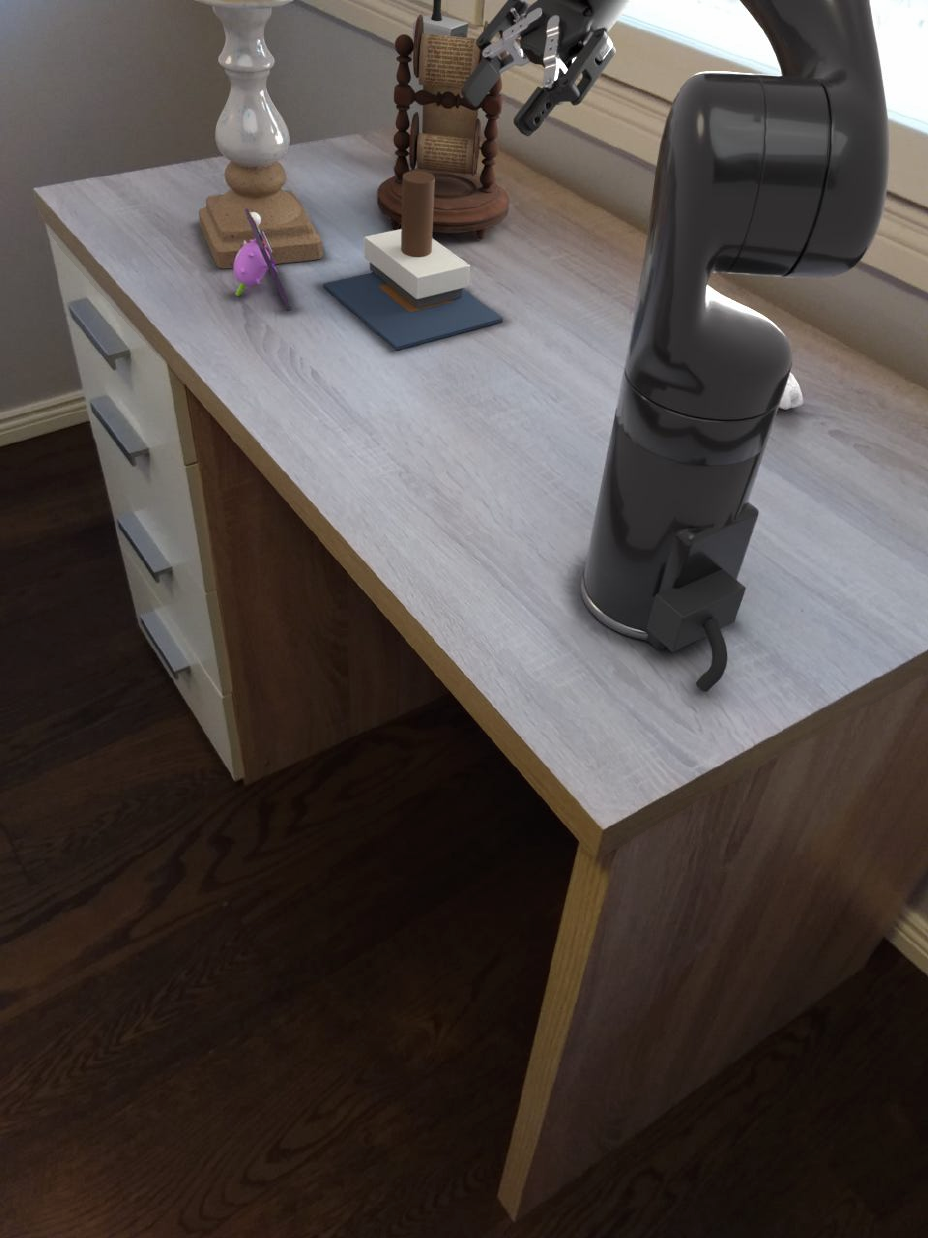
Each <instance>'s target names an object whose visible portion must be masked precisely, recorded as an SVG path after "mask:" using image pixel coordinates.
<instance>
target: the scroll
mask: <svg viewBox="0 0 928 1238" xmlns="http://www.w3.org/2000/svg"><path fill="white" fill-rule="evenodd" d="M423 17H424V16H423V14H419V15H418V16H417V18H416V19H417V21H416V26H415V34H414V43H413V40H412V37H411V36H410V35H409V34H406V33H403V34H400V35H398V36H397V37H396V39H395V41H394V49H395V52H396V53H397V54H398V56H397V57H396V58H395V59H396V61H397V62H399V64H398V67H397V71H396V75H395V77H396V81H397V84H396V85H395V86H394V89H393V102H394V104H395V109H397V110H398V112H397V115H396V119H395V127H396V129H397V131H396V132H395V133H394V135H393V138H392V139H393V145H394V147H395V148H396V150H395V151H394V155H395V156H397V158H396V161H395V163H394V166H393V172H394V175H393V176H390V177H388V178H387V179H385V180H384V181H382V182H381V183H380V184H379V186H378V187H377V191H376V206H377V208H378V209H379V211H380V212H381V214H383V215H384V216H385V217H387V218H388V219H389V222H390V227H391V229H392V231H394V230H399V227H400V226H401V225H402V187H403V175H404V174H405V173H407V172H410V171H423V172H428V173H430V174H432V175H433V176H434V177H435V187H434V210H433V232H434V233H447V234H449V233H450V234H451V233H453V234H455V233H469V232H475V235H476V239H478V240H480V241H482V240H483V239H484V238H485V235H486V231H487V229H489V228H491V227H494V226H496V225H498V224H499V223H502V221H504V220H505V219H506V217H507V216H508V215H509V210H510V196H509V194H508V193H507V191H506V190H505V189H504V188H503V187H502V186H500V185H499V184H497V183H496V174H495V171H494V167H493V166H495V165H496V164H497V161H496V160H495V158H496V157H497V156H498V155H499V151H500V148H499V144H498V143H497V141H496V139H497V138H498V137H499V129H498V123H497V120H499V119H500V115H502V111H503V100H504V99H503V96H502V95H501V94H500V93H501V91H502V89H503V82H502V81H503V80H502V76H501V75H502V74H498V75H499V76H500V77H499V79H498V80H497V81H496V83H495V84H494V85H493V87H492V88H491V90H490V91H489V92H488V94H487V95H486V96H485V98H484V99H483V100H482V102H481V103H480V104H479V105H478V106H477V107H474V106H472V105H470V104H469V103H468V102H467V100H466V99H465V98H464V97H463V95H462V93H461V91H462V88H463V86H464V84H465V82H466V81H467V79H468V78H469V76H470V75H471V74H472V72H473V71H474V70H475V68H476V67H477V66H478V64H479V63H480V62H481V60H482V57H483V55H482V53H481V51H480V49H479V48H478V46H477V45H476V40H477V39H478V38H474V37H467V38H466V37H456V36H446V35H436V34H426V33H424V23H423ZM488 25H489V22H488V20H485V22H484V26H483V31H484V30H485V28H486V27H487V26H488ZM483 31H482V32H483ZM412 51H413V70H414V75H415V76H416V78H419V85H423V90H419V91H417V92H414V90H413V89H412V87H411V84H410V82H411V76H412V73H411V70H410V66H409V63H410V62H411V63H412V57H410V55H412ZM507 52H508V51H504V52H503V54H502V55H501V56H500V57H501V58H503V57H505V56H507V55H508V53H507ZM414 101H415V102H417V103H418V104H419V105H423V124H422V133H419V115H418V112H415V114H414V115H413V118H412V123H411V130H410V118H409V114H408V111H409V110H411V104H413V102H414ZM479 109H481V110H482V111H483V112H484V113H485V115H484V116H485V118H486V119H487V121H486V124H485V127H484V131H483V135H484V138H485V140H484V141H483V142H482V144H481V133H482V122H481V120H480V118H479ZM408 130H409V132H408ZM407 149H408V150H407ZM480 152H481V155H482V157H483V158H482V160H481V164H482V165H484V166H483V168H482V171H481V172H480V173H477V172H478V171H477V170H478V167H479V165H478V164H479V158H480V157H479V156H480ZM407 157H408V159H407ZM416 161H417V168H415V166H416ZM409 163H410V167H411V169H410V170H409Z"/></svg>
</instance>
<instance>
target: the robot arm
mask: <svg viewBox="0 0 928 1238" xmlns="http://www.w3.org/2000/svg"><path fill="white" fill-rule="evenodd" d="M738 1H739V3H740V4H741V5H742V6H743V7H744V9H745V10H746V11H747V13H748V14H749V15H750V16H751V18H752V19H753V20H754V22H755V23H756V25H757V26H758V28H759V29H760V30H761V32H762V33H763V35H764V37H765V38H766V40H767V41H768V44H769V46H770V47H771V49H772V52H773V54H774V56H775V59H776V62H777V64H778V68H779V71H780V74H781V75H772V74H762V73H761V74H760V73H746V72H745V73H744V72H732V71H701V72H698V73H695V74H693V75H692V76H691V77H689V78H688V79H687V80H686V81H684V83H683V84H682V85H681V86H680V87H679V90H678V91H677V93H676V95H675V97H674V98H673V100H672V103H671V106H670V108H669V110H668V113H667V116H666V119H665V123H664V126H663V131H662V135H661V139H660V143H659V149H658V155H657V162H656V166H655V172H654V180H653V189H652V198H651V204H650V212H649V220H648V227H647V234H646V240H645V241H646V242H645V249H644V255H643V261H642V267H641V273H640V278H639V284H638V288H637V294H636V301H635V305H634V306H635V307H634V311H633V318H632V325H631V331H630V337H629V341H628V347H627V350H626V351H627V352H626V356H625V360H624V361H625V362H624V367H623V371H622V375H621V382H620V387H619V392H618V396H617V403H616V406H615V407H616V408H615V411H614V417H613V420H612V421H613V422H612V427H611V432H610V438H609V442H608V446H607V452H606V458H605V462H604V469H603V473H602V478H601V483H600V488H599V494H598V498H597V503H596V509H595V515H594V519H593V525H592V530H591V534H590V540H589V546H588V551H587V557H586V561H585V565H584V568H583V570H582V574H581V579H580V594H581V597H582V600H583V603H584V604H585V606H586V607H587V609H588V610H589V611H590V613H591V614H592V615H593V616H594V617H595V618H596V619H597V620H598V621H600V622H601V623H602V624H604V625H605V626H606V627H608V628H610V629H611V630H613V631H615V632H618V633H619V634H622V635H625V636H628V637H631V638H634V639H638V640H642V641H646V642H647V643H649V644H650V645H651V646H652V647H653V648H654V649H656V650H657V651H661V650H663V649H665V648H667V649H668V650H669V651H671V652H672V653H675V652H676V651H679V650H681V649H682V648H684V647H686V646H689V645H690V644H693V643H694V642H697V641H699V640H701V639H702V638H705V637H706V638H707V640H708V643H709V646H710V649H711V658H712V659H711V664H710V667H709V668H708V669H707V670H706V671H705V672H704V673H703V674H701V676H700V677H699V678H698V679H697V681H696V682H695V686H696V688H697V689H698V690H700V691H701V692H705V693H707V692H709V691H710V690H711V689H712V688H713V687H714V686H715V685H716V684H717V683H718V682H719V681H720V680H721V679H722V677H723V675H724V673H725V671H726V669H727V668H726V667H727V665H728V651H727V649H728V648H727V644H726V641H725V639H724V636H723V633H722V630H721V629H723V628H725V627H727V626H729V625H731V624H734V623H735V621H736V618H737V616H738V612H739V610H740V607H741V604H742V601H743V598H744V595H745V592H746V589H747V587H746V586H744V584H743V583H741V582H740V581H738V578H739V574H740V571H741V568H742V565H743V563H744V559H745V557H746V554H747V551H748V548H749V544H750V542H751V539H752V535H753V533H754V530H755V527H756V524H757V521H758V518H759V515H760V513H759V508H758V507H756V506H755V505H753V504H752V503H751V502H749V501H750V498H751V495H752V491H753V488H754V485H755V482H756V478H757V475H758V472H759V469H760V466H761V462H762V460H763V457H764V454H765V450H766V448H767V444H768V442H769V439H770V435H771V432H772V430H773V426H774V424H775V420H776V417H777V414H778V412H779V411H778V410H779V409H780V408H779V405H780V402H781V399H782V396H783V394H784V390H785V387H786V384H787V381H788V378H789V375H790V373H791V371H792V366H793V350H792V349H793V348H792V347H791V344H790V342H789V339H788V337H787V336H786V335H785V333H784V332H783V331H782V329H780V328H779V326H777V324H775V323H774V322H773V321H772V320H770V319H769V318H768V317H766V316H764V315H763V314H761V313H760V312H759V311H756V310H755V309H753V308H750V307H748V306H746V305H744V304H742V303H740V302H738V301H736V300H733V299H732V298H729V297H727V296H725V295H723V294H722V293H721V292H718V291H717V290H716V289H715V288H713V287H711V286H710V285H709V280H710V278H711V277H712V274H717V273H718V274H730V275H745V276H759V277H760V276H762V277H776V278H777V277H778V278H789V279H821V278H822V279H824V278H831V277H837V276H840V275H842V274H844V273H847V272H848V271H851V270H852V269H853V268H854V267H856V266H857V265H858V264H859V263H860V262H861V260H863V258H864V257H865V256H866V254H867V253H868V251H869V250H870V248H871V246H872V244H873V242H874V240H875V237H876V234H877V232H878V229H879V227H880V225H881V224H880V223H881V221H882V217H883V214H884V210H885V205H886V199H887V192H888V184H889V173H890V127H889V116H888V109H887V101H886V93H885V87H884V79H883V73H882V66H881V60H880V53H879V49H878V42H877V41H878V40H877V35H876V30H875V22H874V18H873V11H872V5H871V4H872V3H871V0H738ZM632 2H633V0H536V1H534V2H533V3H531V4H530V3H528V2H526V0H507V1H506V2H505V3H504V5H503V6H502V7H501V8H500V10H499V11H498V12H497V13H496V14H495V16H494V17H493V18H492V20H491V21H490V22H488V24H489V25H488V26H487V27H486V28H485V30H484V29H483V30H484V31H482V32H481V33H480V35H479V36H478V37H477V38H476V39H477V40H476V45H477V46H478V48H479V49H480V51H481V53H482V55H483V57H482V60H481V62H480V63H479V64H478V66H477V67H476V68H475V70H474V71H473V72H472V74H471V75H470V76H469V78H468V79H467V81H466V82H465V84H464V86H463V88H462V91H461V93H462V95H463V97H464V98H465V99H466V100H467V102H468V103H469V104H470V105H472V106H474V107H477V106H478V105H479V104H480V103H481V102H482V100H483V99H484V98H485V96H486V95H487V94H489V93H490V92H489V91H490V90H491V88H492V87H493V85H494V84H495V83H496V81H497V80H498V79H499V77H500V76H499V75H498V74H500V75H502V74H503V73H504V72H506V71H508V70H510V69H511V68H513V67H515V66H517V67H523V66H525V65H527V64H529V63H532V64H533V65H539V66H542V67H543V68H544V71H543V78H542V84H541V85H542V87H540V86H537V87H536V88H535V89H534V91H533V92H532V93H531V95H530V96H529V97H528V98H527V100H526V101H525V103H524V104H523V105H522V107H521V108H520V109H519V110H518V112H517V113H516V114H515V115H514V118H513V125H514V126H515V127H516V129H517V130H518V131H519V132H520V134H521V135H523V136H525V137H531V136H532V134H533V133H535V132H536V131H537V130H539V128H540V127H541V126H542V124H543V123H544V122H545V120H546V119H547V117H549V115H550V114H551V113H552V111H553V110H554V109H555V107H556V106H561V105H562V104H563V103H565V102H566V103H568V102H569V103H570V104H571V105H572V106H575V107H576V106H578V105H580V104H581V103H582V102H583V100H584V99H585V97H586V96H587V95H588V93H589V92H590V91H591V89H592V87H594V85H595V83H596V82H597V80H598V79H599V78H600V76H601V75H602V74H603V72H604V71H605V69H606V68H607V66H608V65H609V64H610V63H611V61H612V59H613V58H614V56H615V55H616V52H617V51H616V50H617V49H616V47H615V45H614V44H613V42H612V40H611V38H610V37H609V35H608V33H609V32H610V30H612V28H613V26H614V25H615V24H616V23H617V22H618V20H619V18H620V17H621V16H622V15H623V14H624V12H625V11H626V9H627V8H628V7H629V6H630V4H631V3H632ZM498 33H499V36H500V37H499V38H498V40H495V41H494V42H492V40H493V39H494V37H496V35H497V34H498ZM519 38H520V39H519ZM517 39H519V44H518V42H517V41H516V40H517ZM504 51H506V52H508V54H507V56H505V57H503V58H501V57H500V56H501V55H502V54H503V52H504ZM581 75H582V76H581ZM580 76H581V79H580V81H579V82H578V83H577V84H576V82H577V80H578V79H579V77H580Z"/></svg>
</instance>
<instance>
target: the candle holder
mask: <svg viewBox="0 0 928 1238" xmlns="http://www.w3.org/2000/svg"><path fill="white" fill-rule="evenodd" d="M193 1H194V2H196V3H200V4H202V5H207V6H210V7H212V11H213V13H214V16H216V18H217V19H218V20H219V22H220V23H221V24H222V26H223V27H222V28H223V30H224V35H225V42H224V45H223V48H222V50H221V53H220V54H219V55H218V57H217V58H218V59H217V61H218V64H219V66H220V67H222V68H223V69H224V73H225V75H226V76H227V78H228V80H229V83H230V91H229V95H228V98H227V100H226V103H225V104H224V106H223V109H222V110H221V113H220V114H219V117H218V119H217V122H216V124H215V128H214V142H215V145H216V148H217V149H218V151H219V152H220V154H221V155H223V157H224V158H226V159H227V160H228V161H230V162H229V163H228V164H227V166H226V167H225V169H224V180H225V183H226V185H228V187H229V188H230V189H229V190H228V191H227V192H225V193H224V194H217V195H216V194H215V195H210V196H207V197H206V198H205V206H204V207H201V208H199V209H198V217H199V227H200V230H201V234H202V235H203V237H204V240H205V242H206V245H207V248H208V249H209V252H210V254H211V256H212V258H213V261H214V263H215V264H216V266H217V268H219V269H234V261H235V258H236V255H237V253H238V252H239V250H240V249H241V248H242V247H243V246H244V240H245V241H246V243H251V241H250V240H254V239H255V240H256V238H255V236H254V233H253V230H252V228H251V225H250V223H249V220H248V217H247V215H246V212H245V209H246V208H248V209H249V211H250V212H251V213H252V212H256V213H258V214H259V215H260V217H261V222H260V224H259V225H258V226H257V227H259V228H258V229H259V230H260V232H261V234H262V236H263V238H264V240H265V241H264V240H263V238H262V236H261V238H262V240H263V242H264V245H265V246H266V249H267V250H268V251H269V250H270V248H271V250H272V252H271V250H270V251H269V252H268V253H269V256H270V258H271V260H272V262H273V259H274V261H275V265H277V264H288V263H298V262H307V261H308V262H309V261H314V260H321V259H323V257H324V255H323V241H322V239H321V236H320V234H319V232H318V231H317V229H316V227H315V226H314V224H313V223H312V221H311V219H310V217H309V215H308V213H307V211H306V210H305V208H304V206H303V205H302V203H301V201H300V200H299V198H298V197H297V196H296V194H294V193H293V191H291V190H290V189H282V188H283V187H284V186H285V184H286V181H287V174H286V173H287V172H286V170H285V169H284V167H283V165H282V164H281V163H280V162H279V161H280V160H281V159H283V157H284V156H285V155H286V154H287V152H288V150H289V149H290V144H291V135H290V131H289V128H288V126H287V123H286V121H285V119H284V118H283V116H282V114H281V113H280V112H279V110H278V109H277V107H276V105H275V104H274V102H273V101H272V99H271V96H270V94H269V92H268V89H267V82H268V77H269V76H270V74H271V69H272V68H273V67H274V66H275V63H276V62H275V61H276V60H275V58H274V56H273V55H272V53H271V52H270V50H269V48H268V47H267V44H266V41H265V28H266V24H267V23H268V22H269V20H270V18H271V16H272V14H273V8H276V7H281V6H285V5H288V4H291V3H292V2H294V1H295V0H193ZM263 232H264V234H263ZM264 235H265V236H264ZM265 237H266V239H267V241H268V243H269V245H268V243H267V241H266V239H265ZM265 242H266V243H265ZM266 244H267V245H266ZM267 246H268V247H267ZM269 246H270V248H269ZM268 248H269V249H268ZM270 252H271V253H270ZM271 254H272V255H271ZM272 256H273V258H272Z"/></svg>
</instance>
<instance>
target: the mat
mask: <svg viewBox="0 0 928 1238" xmlns="http://www.w3.org/2000/svg"><path fill="white" fill-rule="evenodd" d="M322 287H323V289H325V290H326V291H327V292H328V293H329V294H330V295H332V296H333V297H334V298H335V299H336V300H337V301H339V302H340V303H341V304H342V305H343V306H345V308H346V309H348V310H349V311H350V312H351V313H353V314H354V315H355V316H356V317H357V318H358V319H359V320H361V321H362V322H363V323H364V324H366V326H368V327H369V328H370V329H371V330H372V331H373V332H375V333H376V334H377V335H378V336H379V337H380V338H381V339H383V340H384V342H386V343H387V344H388V345H390V347H392V348H393V349H394V350H395V351H400V350H404V349H407V348H411V347H415V346H418V345H422V344H426V343H430V342H434V341H437V340H441V339H445V338H448V337H452V336H455V335H459V334H462V333H467V332H470V331H473V330H476V329H481V328H485V327H489V326H492V325H496V324H500V323H502V322H503V320H504V318H503V317H502V316H501V315H500V314H499V313H497V312H496V311H494V310H493V309H491V307H488V305H486V304H485V303H483V302H482V301H481V300H479V299H478V298H477V297H475V296H474V295H472V294H471V293H470V292H469V291H468V290H466V289H465V288H462V297H461V298H457V299H453V300H449V301H445V302H441V303H437V304H433V305H429V306H425V307H421V308H417V307H415V306H414V305H413V304H412V303H410V302H409V301H408V300H407V299H406V298H404V297H403V296H402V295H401V294H399V293H398V292H397V291H396V290H394V289H393V288H392V287H391V286H389V285H388V284H387V283H386V282H384V281H383V280H382V279H381V278H379V277H378V276H377V275H376V274H375V273H373V272H372V271H371V272H368V273H364V274H359V275H355V276H350V277H346V278H342V279H337V280H333V281H328V282H325V283H324V282H323V285H322Z"/></svg>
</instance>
